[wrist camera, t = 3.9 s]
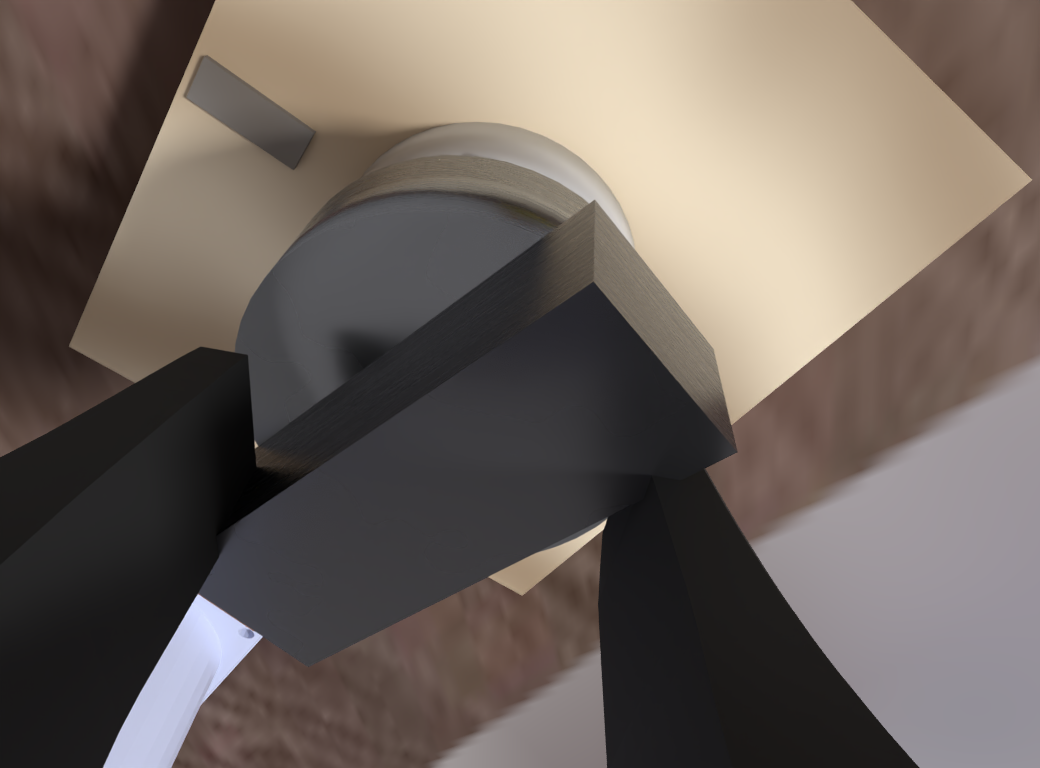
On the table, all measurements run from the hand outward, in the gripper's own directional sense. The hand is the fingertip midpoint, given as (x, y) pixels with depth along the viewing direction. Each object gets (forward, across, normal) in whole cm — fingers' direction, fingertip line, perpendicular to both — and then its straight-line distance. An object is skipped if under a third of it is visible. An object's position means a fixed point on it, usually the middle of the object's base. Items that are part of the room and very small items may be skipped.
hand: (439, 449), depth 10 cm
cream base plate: (+7, 0, 0) cm, 7 cm away
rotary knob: (+3, 0, 0) cm, 3 cm away
